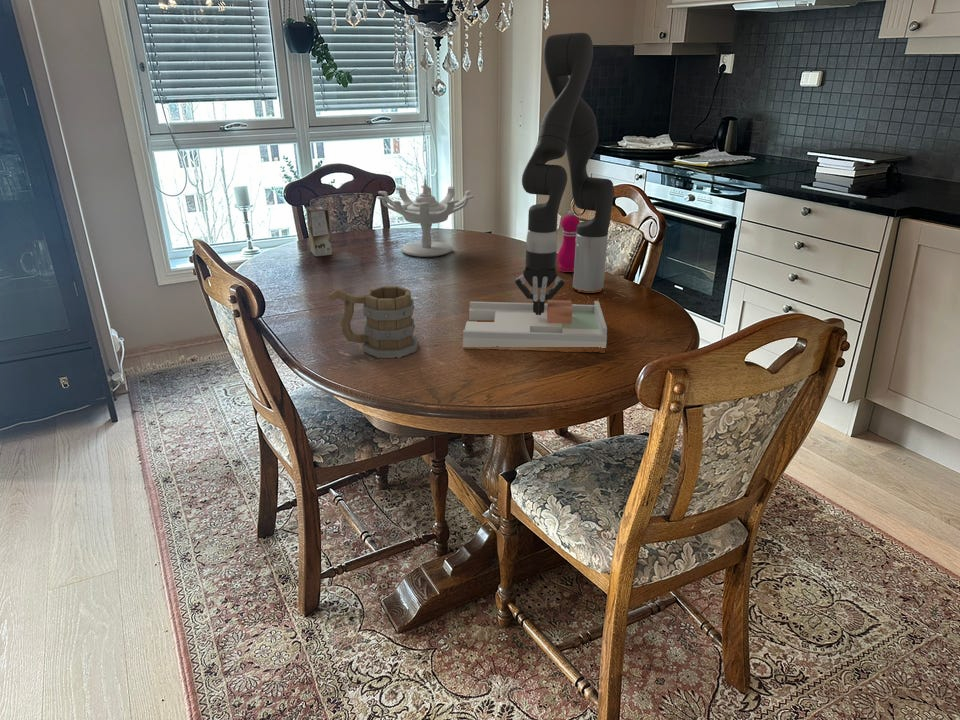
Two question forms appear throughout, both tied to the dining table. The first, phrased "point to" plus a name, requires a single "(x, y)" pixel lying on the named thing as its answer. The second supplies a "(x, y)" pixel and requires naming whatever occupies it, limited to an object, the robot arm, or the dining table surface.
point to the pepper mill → (568, 242)
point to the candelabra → (425, 217)
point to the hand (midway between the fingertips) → (538, 314)
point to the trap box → (533, 326)
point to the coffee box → (319, 230)
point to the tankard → (381, 321)
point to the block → (559, 311)
